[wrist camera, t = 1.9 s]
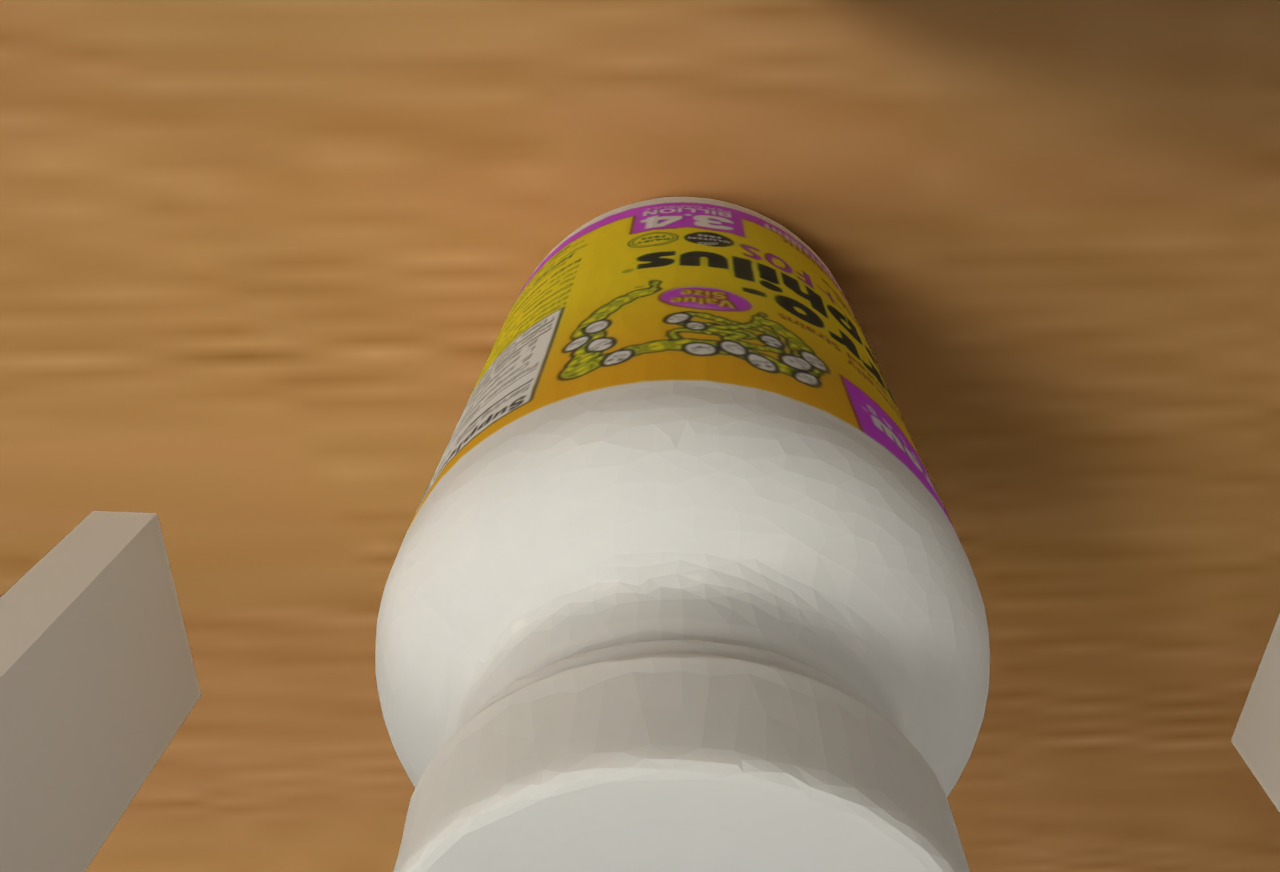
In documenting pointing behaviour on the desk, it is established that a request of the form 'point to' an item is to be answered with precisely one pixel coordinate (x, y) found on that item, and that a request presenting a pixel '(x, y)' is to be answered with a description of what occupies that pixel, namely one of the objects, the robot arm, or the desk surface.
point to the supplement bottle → (681, 580)
